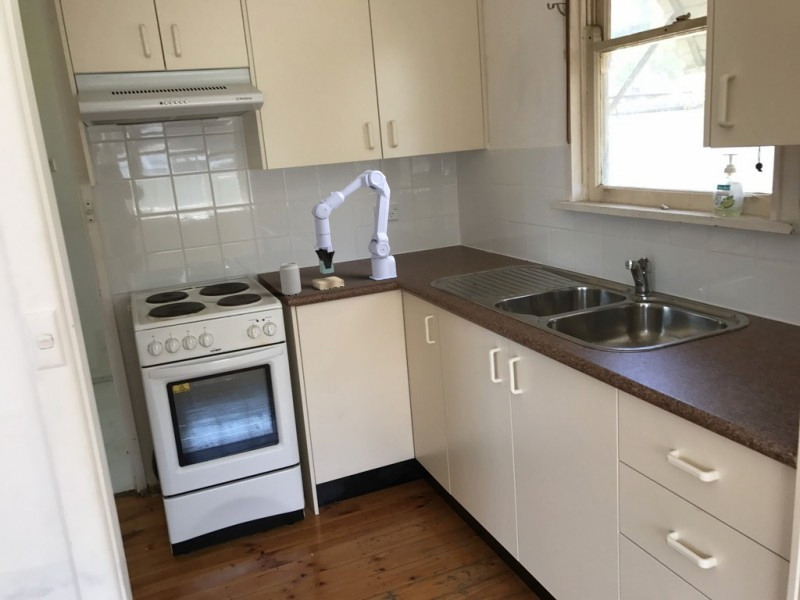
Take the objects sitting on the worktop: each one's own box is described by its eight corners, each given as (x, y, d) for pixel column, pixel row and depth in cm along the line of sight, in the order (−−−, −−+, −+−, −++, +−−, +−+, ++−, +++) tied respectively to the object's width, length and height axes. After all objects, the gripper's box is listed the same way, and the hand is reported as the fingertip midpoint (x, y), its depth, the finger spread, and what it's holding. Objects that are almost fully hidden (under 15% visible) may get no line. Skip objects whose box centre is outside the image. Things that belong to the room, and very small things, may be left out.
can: (283, 296, 254) (279, 266, 251) (281, 293, 261) (277, 263, 258) (302, 294, 256) (299, 263, 253) (300, 290, 263) (296, 260, 260)
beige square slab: (336, 283, 273) (335, 276, 273) (344, 287, 265) (343, 280, 264) (312, 287, 270) (312, 279, 269) (320, 291, 261) (319, 283, 260)
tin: (330, 270, 269) (329, 258, 267) (334, 272, 264) (332, 259, 263) (320, 272, 267) (318, 260, 266) (323, 273, 263) (322, 261, 262)
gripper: (308, 233, 267) (311, 266, 270) (319, 237, 254) (322, 271, 257) (324, 231, 270) (327, 264, 273) (336, 234, 257) (339, 269, 260)
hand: (326, 267), depth 265 cm, fingers closed on tin, 4 cm apart
